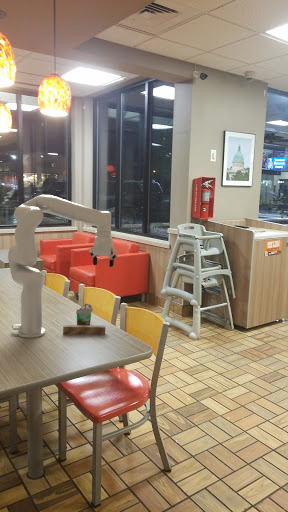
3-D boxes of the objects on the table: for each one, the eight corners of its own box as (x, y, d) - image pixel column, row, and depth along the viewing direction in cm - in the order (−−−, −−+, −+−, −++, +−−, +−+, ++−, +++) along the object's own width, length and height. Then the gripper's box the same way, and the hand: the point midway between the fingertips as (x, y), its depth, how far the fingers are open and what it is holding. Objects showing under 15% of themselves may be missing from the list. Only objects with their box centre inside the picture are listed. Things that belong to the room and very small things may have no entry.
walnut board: (63, 334, 187) (63, 326, 186) (63, 332, 189) (63, 325, 188) (105, 335, 188) (105, 327, 188) (105, 333, 191) (105, 325, 190)
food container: (87, 330, 194) (88, 311, 192) (75, 329, 195) (76, 309, 194) (95, 322, 206) (96, 304, 204) (84, 321, 207) (84, 303, 206)
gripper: (86, 233, 210) (85, 265, 212) (115, 236, 203) (114, 268, 206) (92, 232, 216) (92, 263, 219) (121, 234, 210) (120, 266, 213)
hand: (103, 265), depth 213 cm, fingers open, 9 cm apart
